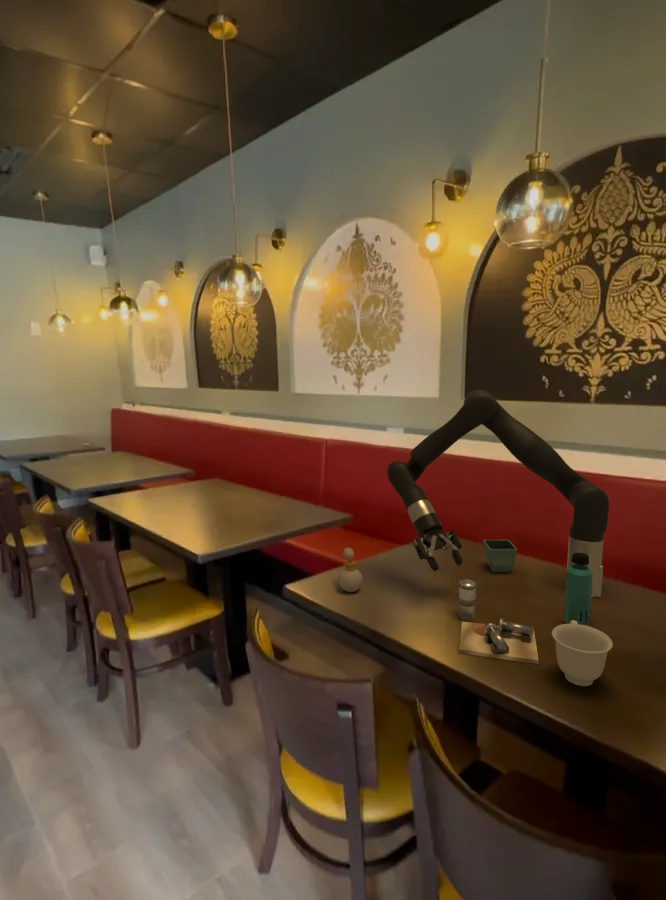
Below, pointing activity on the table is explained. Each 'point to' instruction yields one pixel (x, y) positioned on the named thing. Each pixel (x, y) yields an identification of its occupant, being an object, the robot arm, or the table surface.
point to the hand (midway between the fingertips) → (448, 567)
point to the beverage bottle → (578, 590)
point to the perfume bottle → (350, 573)
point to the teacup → (581, 652)
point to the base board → (476, 645)
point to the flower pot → (499, 554)
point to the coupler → (467, 599)
